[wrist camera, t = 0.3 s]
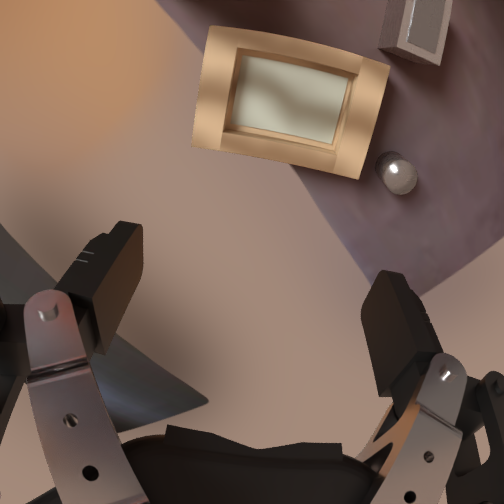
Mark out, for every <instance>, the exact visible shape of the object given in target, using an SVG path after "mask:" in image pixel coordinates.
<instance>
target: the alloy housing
mask: <svg viewBox="0 0 504 504" xmlns="http://www.w3.org/2000/svg"><path fill="white" fill-rule="evenodd" d="M452 1H453V0H388V2H387V7H386V12H385V16H384V21H383V26H382V30H381V35H380V39H379V44H378V49H381V50H384V51H386V52H389V53H392V54H394V55H397V56H399V57H402V58H404V59H407V60H409V61H411V62H414V63H416V64H427V65H437V66H440V63H441V58H442V54H443V49H444V45H445V40H446V35H447V30H448V25H449V19H450V14H451V8H452Z"/></svg>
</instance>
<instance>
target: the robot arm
mask: <svg viewBox="0 0 504 504" xmlns="http://www.w3.org/2000/svg"><path fill="white" fill-rule="evenodd" d="M142 271H143V227H142V225H141V224H136V223H131V222H125V221H119V222H118V223H117V224H116V225H115V226H114V228H113V229H112V230H111V232H110V233H109V234H106V233H102V234H100V235H98V236H97V237H95V238H93V239H92V240H90V242H89V243H88V244H87V245H86V247H85V248H84V249H83V251H82V252H81V253H80V254H79V256H78V257H77V258H76V261H74V262H73V263H72V265H71V266H70V267H69V269H68V270H67V271H66V273H65V274H64V275H63V277H62V278H61V280H60V281H59V282H58V284H57V285H56V287H55V288H54V289H53V290H45V291H41V292H39V293H37V294H35V295H34V296H32V297H31V298H30V299H29V300H28V302H27V303H26V304H3V303H2V300H1V298H0V444H1V441H2V438H3V435H4V432H5V430H6V427H7V424H8V421H9V419H10V416H11V413H12V411H13V408H14V406H15V403H16V401H17V398H18V395H19V393H20V391H21V389H22V386H23V383H24V382H25V379H26V377H27V386H28V392H29V397H30V401H31V406H32V411H33V415H34V419H35V423H36V426H37V431H38V434H39V438H40V441H41V445H42V448H43V451H44V455H45V458H46V461H47V464H48V467H49V470H50V473H51V475H52V478H53V481H54V483H55V487H54V488H52V489H50V490H49V491H47V492H45V493H44V494H42V495H40V496H39V497H37V498H35V499H33V500H32V501H30V502H28V503H26V504H438V502H439V500H440V498H441V495H442V493H443V490H444V488H445V487H446V495H447V503H448V504H504V376H503V375H502V374H501V373H499V372H496V371H491V372H489V373H488V374H487V375H486V376H485V377H484V378H483V379H482V380H478V379H475V378H473V377H469V376H467V374H466V371H465V368H464V367H463V365H462V364H461V363H460V361H459V360H458V359H456V358H455V357H454V356H452V355H450V354H447V353H444V352H443V349H442V347H441V345H440V342H439V340H438V337H437V335H436V333H435V330H434V328H433V326H432V323H430V319H429V317H428V314H426V310H425V308H424V306H423V303H422V301H421V300H420V298H419V297H418V296H417V295H416V294H415V293H414V292H413V290H411V289H410V288H409V285H408V283H407V281H406V279H405V277H404V275H403V274H401V273H397V272H391V271H386V270H382V271H380V272H379V274H378V275H377V277H376V279H375V281H374V283H373V285H372V287H371V289H370V291H369V293H368V295H367V297H366V299H365V301H364V303H363V305H362V309H361V321H362V325H363V329H364V333H365V337H366V341H367V345H368V350H369V354H370V358H371V362H372V367H373V371H374V376H375V380H376V385H377V390H378V395H379V397H392V399H393V402H392V403H391V405H389V407H388V409H387V410H386V412H385V414H384V416H383V418H382V419H381V421H380V423H379V425H378V426H377V428H376V430H375V431H374V433H373V435H372V436H371V438H370V440H369V441H368V443H367V444H366V446H365V447H364V449H363V450H362V451H361V452H360V453H359V454H358V455H357V456H356V457H355V458H352V457H350V456H347V455H344V454H342V444H341V443H305V442H301V443H296V444H290V445H285V446H279V447H272V448H266V449H254V448H251V447H248V446H245V445H242V444H239V443H237V442H234V441H231V440H228V439H226V438H223V437H221V436H218V435H216V434H213V433H209V432H203V431H198V430H192V429H187V428H182V427H177V426H172V425H167V428H166V433H165V435H150V436H144V437H140V438H136V439H133V440H130V441H127V442H126V443H123V444H122V443H121V441H120V439H119V436H118V434H117V432H116V430H115V427H114V425H113V423H112V421H111V418H110V416H109V414H108V411H107V409H106V406H105V404H104V401H103V398H102V396H101V393H100V391H99V388H98V385H97V382H96V380H95V377H94V374H93V371H92V368H91V365H90V360H91V357H92V355H93V353H94V352H95V353H99V354H102V355H106V353H107V351H108V348H109V346H110V344H111V341H112V339H113V337H114V335H115V332H116V330H117V328H118V326H119V324H120V321H121V319H122V317H123V315H124V313H125V311H126V308H127V306H128V304H129V302H130V300H131V298H132V295H133V294H134V292H135V290H136V287H137V285H138V283H139V281H140V279H141V276H142ZM484 425H485V429H486V433H487V437H488V441H489V445H490V456H489V458H488V460H487V461H486V462H485V463H484V464H482V465H481V463H480V458H479V453H478V449H477V444H476V440H475V436H474V433H475V432H476V431H478V430H479V429H480V428H482V427H483V426H484ZM0 498H1V493H0Z"/></svg>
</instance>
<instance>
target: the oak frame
mask: <svg viewBox="0 0 504 504" xmlns="http://www.w3.org/2000/svg"><path fill="white" fill-rule="evenodd" d="M389 70H390V66H389V65H386V64H383V63H380V62H378V61H375V60H372V59H369V58H366V57H363V56H360V55H357V54H353V53H350V52H347V51H343V50H340V49H337V48H333V47H329V46H326V45H322V44H318V43H314V42H310V41H305V40H301V39H297V38H292V37H287V36H282V35H277V34H272V33H266V32H260V31H254V30H247V29H240V28H232V27H223V26H213V25H210V26H209V32H208V37H207V43H206V48H205V54H204V60H203V67H202V72H201V79H200V85H199V92H198V99H197V106H196V113H195V120H194V129H193V136H192V144H191V146H192V147H198V148H204V149H212V150H218V151H224V152H230V153H236V154H242V155H248V156H253V157H258V158H264V159H269V160H274V161H279V162H284V163H289V164H294V165H298V166H303V167H307V168H312V169H316V170H321V171H325V172H329V173H333V174H338V175H342V176H346V177H350V178H354V179H359V176H360V173H361V170H362V167H363V164H364V160H365V157H366V154H367V151H368V147H369V144H370V141H371V137H372V134H373V130H374V127H375V123H376V120H377V116H378V113H379V109H380V105H381V102H382V98H383V94H384V90H385V86H386V82H387V78H388V74H389Z"/></svg>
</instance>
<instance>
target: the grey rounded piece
mask: <svg viewBox="0 0 504 504" xmlns="http://www.w3.org/2000/svg"><path fill="white" fill-rule="evenodd" d="M375 169H376V173H377V175H378V177H379V178H380V179H381V180H382V181H383V183H384V184H385V185H386V186H387V188H388V189H389V190H390V191H391V192H392V193H394V194H398V195H403V194H406V193H408V192H410V191H411V190H412V189H413V188H414V187H415V185H416V183H417V177H418V176H417V171H416V169H415V167H414V166H413V165H412V164H411V163H410V162H408V161H407V160H406V159H405V158H404V157H402V156H401V155H400V154H399V153H397V152H394V151H389V152H385V153H383V154H382V155H381V156H380V157H379V158H378V160H377V162H376V166H375Z"/></svg>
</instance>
